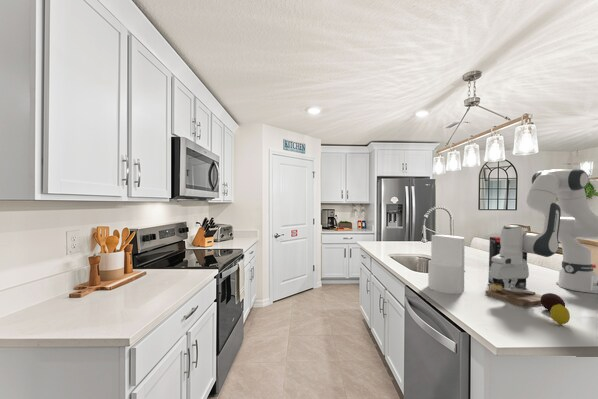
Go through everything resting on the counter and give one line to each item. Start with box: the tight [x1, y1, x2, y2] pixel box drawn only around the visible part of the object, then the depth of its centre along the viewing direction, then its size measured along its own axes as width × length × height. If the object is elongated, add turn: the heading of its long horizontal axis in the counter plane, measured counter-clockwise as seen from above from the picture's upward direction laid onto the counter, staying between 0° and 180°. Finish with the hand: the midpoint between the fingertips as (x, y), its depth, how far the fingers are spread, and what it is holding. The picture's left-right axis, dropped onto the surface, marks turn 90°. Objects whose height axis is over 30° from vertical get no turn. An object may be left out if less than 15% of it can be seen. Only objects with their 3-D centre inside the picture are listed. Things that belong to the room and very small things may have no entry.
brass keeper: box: [489, 283, 506, 292], centre depth 143 cm, size 4×6×3 cm, turn 17°
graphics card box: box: [487, 236, 528, 288], centre depth 160 cm, size 17×7×27 cm, turn 84°
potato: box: [540, 292, 566, 312], centre depth 123 cm, size 8×9×8 cm
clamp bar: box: [503, 286, 536, 294], centre depth 139 cm, size 16×3×1 cm, turn 107°
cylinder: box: [427, 234, 465, 295], centre depth 154 cm, size 17×17×28 cm
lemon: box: [549, 304, 571, 326], centre depth 109 cm, size 6×6×8 cm
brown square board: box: [485, 287, 543, 308], centre depth 139 cm, size 20×18×2 cm
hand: (509, 287), depth 137 cm, fingers closed
